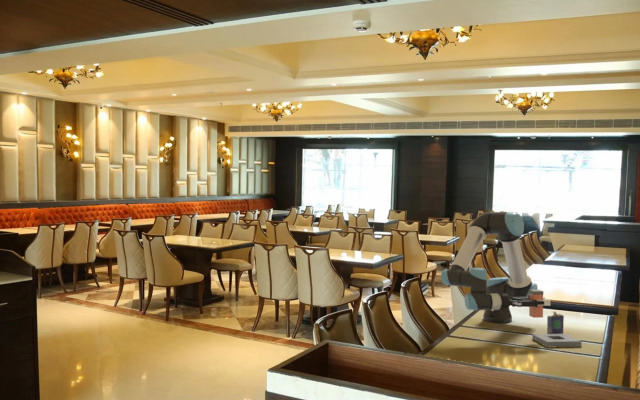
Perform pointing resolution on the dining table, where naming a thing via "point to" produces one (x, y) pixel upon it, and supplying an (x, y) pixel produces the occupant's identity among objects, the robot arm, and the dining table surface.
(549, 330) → the flask
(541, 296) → the plug
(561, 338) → the socket plate
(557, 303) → the dining table surface
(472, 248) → the robot arm
